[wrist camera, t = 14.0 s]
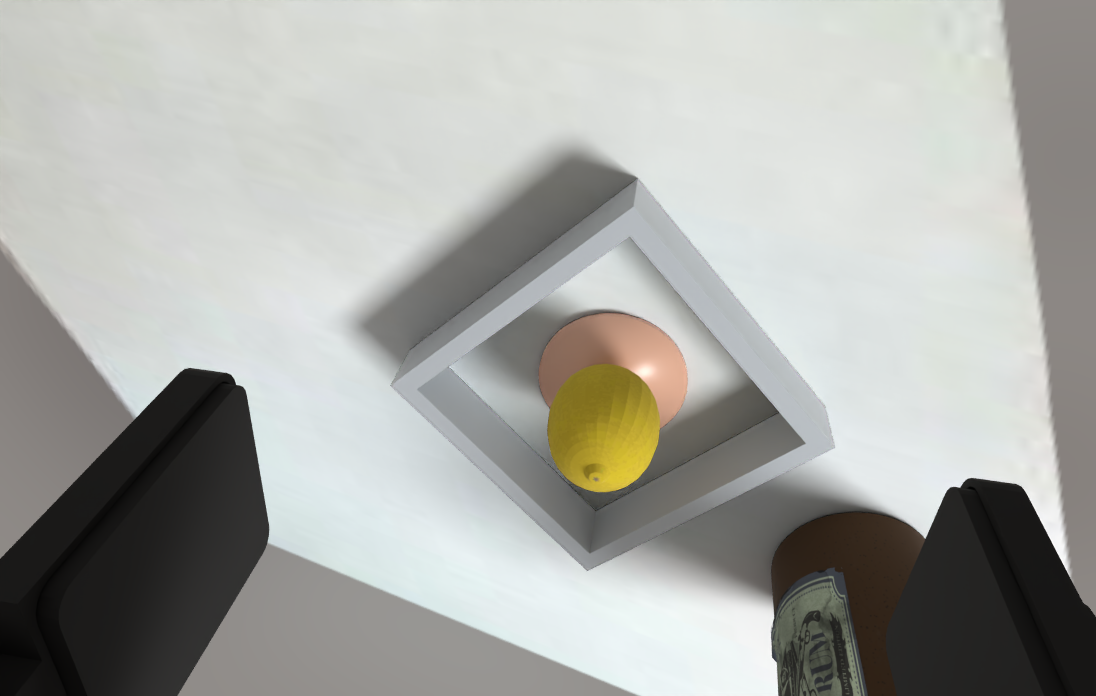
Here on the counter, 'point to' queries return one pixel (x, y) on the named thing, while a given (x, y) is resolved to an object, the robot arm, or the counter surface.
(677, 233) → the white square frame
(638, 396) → the lemon
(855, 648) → the brown glass bottle
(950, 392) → the counter surface
